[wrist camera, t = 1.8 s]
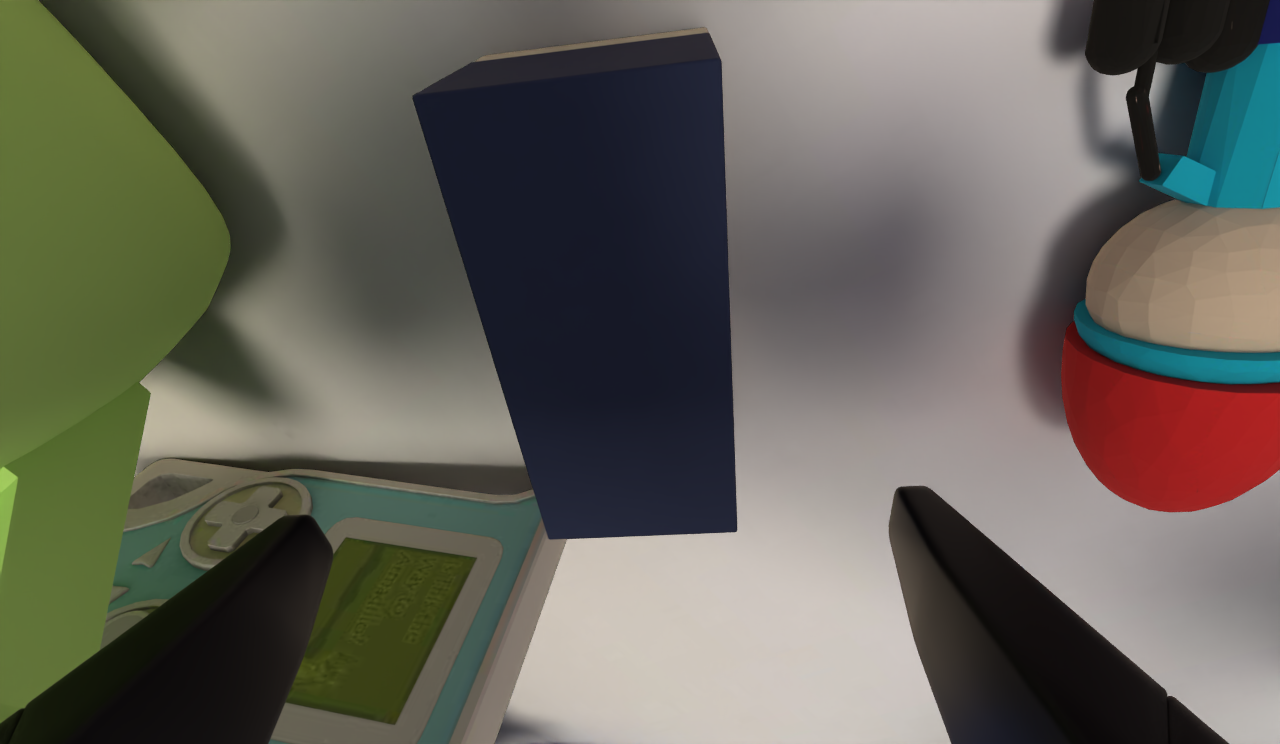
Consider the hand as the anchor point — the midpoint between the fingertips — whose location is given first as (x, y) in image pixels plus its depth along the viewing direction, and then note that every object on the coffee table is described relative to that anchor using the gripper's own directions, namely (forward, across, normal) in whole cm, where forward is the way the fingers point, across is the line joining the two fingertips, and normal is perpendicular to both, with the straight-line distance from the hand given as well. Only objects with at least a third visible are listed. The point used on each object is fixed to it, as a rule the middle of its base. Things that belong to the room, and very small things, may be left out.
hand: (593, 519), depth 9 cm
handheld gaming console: (+9, +11, +7) cm, 16 cm away
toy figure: (+9, -13, -1) cm, 16 cm away
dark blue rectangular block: (+9, 0, 0) cm, 9 cm away
